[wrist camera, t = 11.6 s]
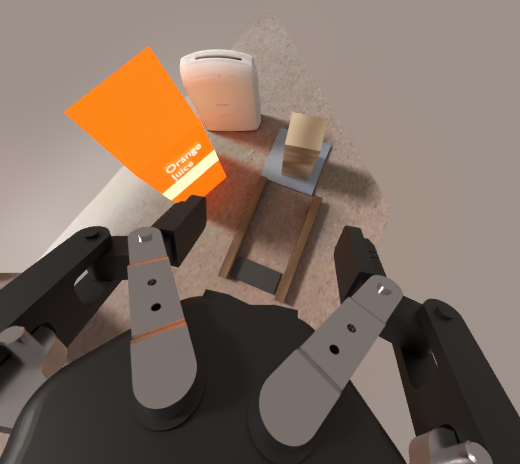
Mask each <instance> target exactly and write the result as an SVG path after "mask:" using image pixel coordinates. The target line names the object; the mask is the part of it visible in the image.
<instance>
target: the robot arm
mask: <svg viewBox="0 0 520 464" xmlns="http://www.w3.org/2000/svg"><path fill="white" fill-rule="evenodd" d="M206 221H207V216H206V198H205V197H203V196H198V195H193V194H192V195H190V196H189V197H188V198H187V200H186V201H180V202H178V203H176V204H174V205H173V206H172V207H171V208H170V209H169V210H167V211H166V212H165V214H163V215H162V216H161V217H160V218H159V219H158V220H157V221H156V222H155V223H154V224H153V225H152V226H151V227H142V228H138V229H136V230H134V231H132V232H131V233H130V234H129V235H128V236H111V234H110V231H109V230H108V229H107V228H105V227H101V226H93V227H88V228H85V229H82V230H80V231H78V232H76V233H75V234H74V235H72V236H71V237H70V238H68V239H67V240H66V241H64V242H63V243H62V244H60V245H59V246H58V247H56V248H55V249H54V250H52V251H51V252H50V253H48V254H47V255H46V256H44V257H43V258H42V259H40V260H39V261H38V262H36V263H35V264H33V265H32V266H31V267H30V268H28V269H27V270H25V271H24V272H23V273H0V432H1V433H7V434H10V436H9V439H8V442H7V444H6V447H5V449H4V451H3V453H2V455H1V457H0V464H407V463H406V462H405V460H404V458H403V457H402V455H401V454H400V452H399V450H398V449H397V447H396V446H395V445H394V443H393V442H392V440H391V439H390V437H389V436H388V434H387V433H386V431H385V430H384V429H383V427H382V426H381V424H380V423H379V421H378V420H377V418H376V417H375V415H374V414H373V413H372V411H371V410H370V408H369V407H368V406H367V404H366V402H365V401H364V399H363V398H362V396H361V395H360V394H359V392H358V391H357V389H356V388H355V386H354V385H353V383H352V382H351V380H350V378H351V376H352V375H353V373H354V372H355V370H356V369H357V367H358V366H359V364H360V363H361V361H362V360H363V358H364V357H365V355H366V354H367V352H368V351H369V349H370V348H371V346H372V345H373V343H374V341H375V340H376V339H377V337H378V336H379V337H381V338H383V339H385V340H387V341H389V342H391V343H392V345H393V349H394V353H395V356H396V360H397V364H398V368H399V372H400V376H401V380H402V384H403V388H404V392H405V395H406V399H407V403H408V407H409V411H410V415H411V419H412V423H413V427H414V430H415V435H416V437H415V438H413V439H412V441H411V443H410V445H409V458H410V463H409V464H520V417H519V415H518V414H517V412H516V410H515V408H514V407H513V405H512V403H511V401H510V400H509V398H508V396H507V395H506V393H505V391H504V389H503V387H502V386H501V384H500V382H499V381H498V379H497V377H496V375H495V374H494V372H493V370H492V368H491V367H490V365H489V363H488V361H487V360H486V358H485V357H484V355H483V353H482V351H481V349H480V348H479V346H478V344H477V342H476V341H475V339H474V337H473V336H472V334H471V332H470V330H469V329H468V327H467V325H466V323H465V322H464V320H463V318H462V317H461V315H460V314H459V313H458V312H457V311H456V310H455V309H454V308H453V307H451V306H450V305H448V304H446V303H445V302H442V301H440V300H437V299H428V300H426V301H425V302H424V303H423V304H420V303H418V302H416V301H414V300H412V299H409V298H407V297H405V296H403V293H402V290H401V289H400V287H399V286H398V285H397V284H396V283H395V282H394V281H392V280H391V279H389V278H387V277H386V274H385V272H384V269H383V267H382V264H381V262H380V260H379V257H378V254H377V251H376V249H375V246H374V245H373V244H372V243H371V242H370V240H369V239H366V238H364V237H363V234H362V231H361V229H360V228H357V227H352V226H345V227H344V229H343V231H342V233H341V236H340V238H339V240H338V242H337V245H336V247H335V251H334V261H335V268H336V275H337V282H338V288H339V295H340V302H341V305H340V306H339V307H338V308H337V309H336V310H335V311H334V312H333V313H332V314H331V316H330V317H329V318H328V319H327V320H326V321H325V322H324V323H323V324H322V325H321V326H320V327H319V328H318V329H317V330H316V331H315V330H314V329H313V328H312V327H311V326H310V325H308V324H307V323H306V322H304V321H302V320H301V319H299V318H298V310H295V309H290V308H286V307H281V306H277V305H249V304H247V303H245V302H243V301H241V300H239V299H237V298H235V297H232V296H230V295H228V294H224V293H220V292H216V291H211V290H207V289H206V290H205V292H204V294H203V296H197V297H191V298H187V299H184V300H181V301H180V300H179V296H178V292H177V288H176V284H175V280H174V277H173V273H172V269H171V266H175V267H179V266H180V265H181V263H182V262H183V260H184V259H185V257H186V256H187V254H188V253H189V251H190V250H191V248H192V247H193V245H194V244H195V242H196V241H197V239H198V238H199V236H200V235H201V233H202V232H203V230H204V229H205V226H206ZM86 269H87V271H88V273H87V274H86V275H85V276H84V277H83V278H82V279H81V280H80V281H79V282H78V283H77V284H76V285H75V286H74V284H75V281H76V280H77V278H78V277H79V276H80V275H81V274H82V273H83V272H84V271H85V270H86ZM122 280H128V286H129V301H130V316H131V329H129V330H127V331H126V332H124V333H122V334H120V335H119V336H117V337H115V338H113V339H112V340H110V341H108V342H106V343H105V344H103V345H101V346H99V347H98V348H96V349H94V350H92V351H91V352H89V353H87V354H86V355H84V356H82V357H80V358H79V359H77V360H75V361H73V362H72V363H70V364H68V365H66V366H65V367H63V368H62V366H63V364H64V363H65V361H66V358H67V354H68V352H67V347H68V346H69V345H70V343H71V342H72V341H73V340H74V338H75V337H76V336H77V335H78V333H79V332H80V331H81V330H82V329H83V327H84V326H85V325H86V324H87V322H88V321H89V320H90V319H91V318H92V316H93V315H94V314H95V313H96V311H97V310H98V309H99V308H100V306H101V305H102V304H103V303H104V302H105V300H106V299H107V298H108V297H109V295H110V294H111V293H112V292H113V290H114V289H115V288H116V287H117V286H118V284H119V283H120V282H121V281H122ZM432 353H433V354H434V357H435V359H436V362H437V365H436V362H435V360H434V357H433V355H432ZM437 366H438V367H437Z"/></svg>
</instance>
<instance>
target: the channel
mask: <svg viewBox="0 0 520 464" xmlns="http://www.w3.org/2000/svg"><path fill="white" fill-rule="evenodd" d="M267 182H268V178H266V177H264V176H260V178H259V180H258V183H257V185H256V187H255V190H254V192H253V194H252V197H251V199H250V201H249V204H248V206H247V209H246V211H245V213H244V216H243V218H242V220H241V223H240V225H239V227H238V230H237V232H236V234H235V237H234V239H233V241H232V244H231V246H230V248H229V251H228V253H227V255H226V258H225V260H224V262H223V265H222V267H221V269H220V272H219V274H218V276H220V277H222V278H224V279H226V278H228V275H229V273H230V270H231V268H232V266H233V263H234V261H235V258H236V256H237V254H238V251H239V249H240V247H241V244H242V242H243V239H244V237H245V235H246V232H247V230H248V228H249V225H250V223H251V220H252V218H253V216H254V213H255V211H256V208H257V206H258V204H259V201H260V199H261V197H262V194H263V192H264V189H265V187H266V185H267ZM322 199H323V198H321V197H318V196H315V197H314V198H313V201H312V203H311V206H310V209H309V211H308V214H307V216H306V219H305V222H304V224H303V227H302V229H301V232H300V235H299V237H298V240H297V242H296V245H295V248H294V250H293V253H292V255H291V258H290V261H289V263H288V266H287V268H286V271H285V274H284V276H283V279H282V281H281V284H280V287H279V289H278V292H277V294H276V297H275V300H276V301H278V302H281V303H283V302H284V299H285V296H286V294H287V291H288V289H289V286H290V283H291V281H292V278H293V275H294V273H295V270H296V267H297V265H298V262H299V260H300V257H301V254H302V252H303V249H304V246H305V244H306V241H307V238H308V236H309V233H310V230H311V228H312V225H313V223H314V220H315V217H316V215H317V212H318V209H319V207H320V204H321V201H322Z"/></svg>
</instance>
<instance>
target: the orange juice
mask: <svg viewBox="0 0 520 464" xmlns="http://www.w3.org/2000/svg"><path fill="white" fill-rule="evenodd" d="M65 113H66V114H67V115H68V116H69V117H70V118H71V119H72V120H74V121H75V122H76V123H77V124H78V125H79V126H80V127H82V128H83V129H84V130H85V131H86V132H87V133H88V134H89V135H91V136H92V137H93V138H94V139H95V140H96V141H97V142H99V143H100V144H101V145H102V146H103V147H104V148H105V149H106V150H108V151H109V152H110V153H111V154H112V155H113V156H115V157H116V158H117V159H118V160H119V161H120V162H121V163H122V164H123V165H125V166H126V167H127V168H128V169H129V170H130V171H131V172H133V174H134V175H136V176H137V177H139V178H140V179H142V180H143V181H145V182H146V183H148V184H149V185H150V186H152V187H153V188H155V189H156V190H158V191H159V192H161V193H162V194H163V195H164V196H166V197H167V198H169V199H170V200H172V201H174V202H175V203H178V202H180V201H186V200H187V198H188V197H189V196H190V195H192V194H193V195H198V196H203V197H204V196H205V195H206V194H207V193H209V192H210V191H211V190H212V189H213V188H214V187H215V186H217V185H218V184H219V183H220V182H221V181H222V180H224V179H225V178H226V175H225V173H224V170H223V168H222V166H221V164H220V162H219V159H218V157H217V155H216V153H215V151H214V149H213V147H212V145H211V143H210V141H209V139H208V137H207V135H206V132H205V130H204V128H203V126H202V124H201V122H200V120H199V119H198V118H197V116H196V115H195V114H194V112H193V111H192V109H191V108H190V106H189V105H188V103H187V102H186V100H185V99H184V97H183V96H182V95H181V93H180V91H179V90H178V89H177V87H176V86H175V84H174V83H173V81H172V80H171V78H170V77H169V75H168V74H167V72H166V71H165V70H164V68H163V67H162V65H161V64H160V62H159V61H158V59H157V58H156V56H155V55H154V53H153V52H152V50H151V49H150V47H149V46H148V47H147V48H146V49H144V50H143V51H142V52H140V53H139V54H138V55H137V56H135V57H134V58H133V59H131V60H130V61H129V62H128V63H126V64H125V65H124V66H123V67H121V68H120V69H119V70H117V71H116V72H115V73H114V74H112V75H111V76H110V77H108V78H107V79H106V80H105V81H103V82H102V83H101V84H99V85H98V86H97V87H96V88H94V89H93V90H92V91H90V92H89V93H88V94H87V95H85V96H84V97H83V98H82V99H80V100H79V101H78V102H77V103H75V104H74V105H73V106H71V107H70V108H69V109H67V110H66V111H65Z"/></svg>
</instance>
